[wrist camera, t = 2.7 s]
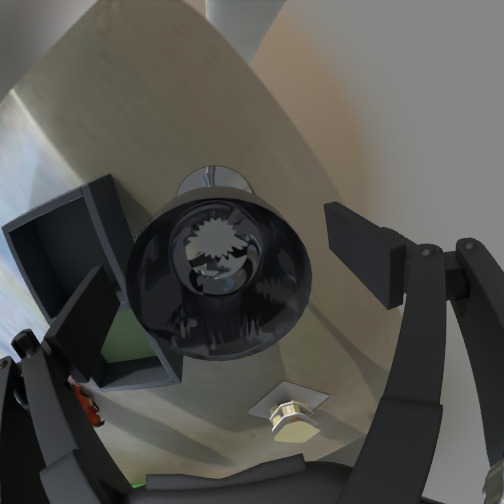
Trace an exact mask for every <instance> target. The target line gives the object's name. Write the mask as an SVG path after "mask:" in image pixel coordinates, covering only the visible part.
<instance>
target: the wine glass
mask: <svg viewBox="0 0 504 504" xmlns="http://www.w3.org/2000/svg"><path fill="white" fill-rule="evenodd" d="M125 283H126V293H127V297H128V300H129V304H130V307H131V309H132V311H133V313H134V315H135V317H136V319H137V320H138V322H139V323H140V324H141V325H142V327H143V328H144V329H145V331H146V332H147V333H149V334H150V335H151V336H152V337H153V338H154V339H155V340H156V341H158V342H159V343H161V344H162V345H164V346H165V347H167V348H168V349H170V350H173V351H175V352H177V353H179V354H182V355H185V356H188V357H191V358H195V359H201V360H208V361H225V360H234V359H239V358H243V357H247V356H251V355H253V354H256V353H258V352H261V351H263V350H265V349H267V348H268V347H270V346H272V345H274V344H275V343H276V342H278V341H279V340H280V339H282V338H283V337H284V336H285V335H286V334H287V333H288V332H289V331H290V330H291V329H292V328H293V327H294V326H295V324H296V323H297V321H298V320H299V319H300V317H301V316H302V314H303V312H304V310H305V307H306V305H307V303H308V300H309V296H310V292H311V283H312V272H311V265H310V260H309V257H308V254H307V251H306V249H305V246H304V244H303V243H302V241H301V239H300V238H299V236H298V235H297V233H296V231H295V230H294V229H293V227H292V226H291V225H290V224H289V222H288V221H287V220H286V219H285V218H284V217H283V216H282V215H281V214H280V213H279V212H278V211H277V210H276V209H275V208H274V207H273V206H271V205H270V204H269V203H267V202H266V201H265V200H263V199H262V198H260V197H259V196H257V195H254V194H252V190H251V188H250V186H249V184H248V183H247V181H246V180H245V179H244V178H243V177H242V176H241V175H240V174H239V173H237V172H236V171H234V170H232V169H230V168H227V167H223V166H207V167H203V168H200V169H198V170H196V171H194V172H193V173H191V174H190V175H189V176H188V177H187V178H186V179H185V180H184V181H183V182H182V184H181V185H180V187H179V190H178V192H177V195H176V197H175V198H173V199H172V200H171V201H169V202H168V203H167V204H165V205H164V206H163V207H162V208H161V209H160V210H159V211H158V212H157V213H156V214H155V215H154V216H153V218H152V219H151V220H150V221H149V222H148V223H147V224H146V226H145V227H144V229H143V230H142V232H141V233H140V235H139V237H138V239H137V240H136V242H135V244H134V246H133V248H132V250H131V253H130V256H129V259H128V262H127V266H126V276H125Z"/></svg>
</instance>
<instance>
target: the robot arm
mask: <svg viewBox="0 0 504 504" xmlns="http://www.w3.org/2000/svg"><path fill="white" fill-rule="evenodd" d="M324 210H325V217H326V224H327V232H328V240H329V248H330V250H331V251H332V252H333V253H334V254H335V255H336V256H337V257H338V258H339V259H340V260H341V261H342V262H343V263H344V264H345V265H346V266H347V267H348V268H349V269H350V270H351V271H352V272H353V273H354V274H355V275H356V276H357V277H358V278H359V279H360V281H361V282H362V283H363V284H364V285H365V286H366V287H367V288H368V289H369V290H370V291H371V292H372V293H373V294H374V296H375V297H376V298H377V299H378V300H379V301H380V302H381V303H382V304H383V305H384V306H385V308H386V309H387V310H390V309H392V308H395V307H397V306H399V305H402V304H403V294H404V292H405V293H406V294H407V296H406V302H405V308H404V314H403V319H402V324H401V329H400V334H399V338H398V343H397V347H396V351H395V355H394V359H393V363H392V367H391V370H390V374H389V378H388V381H387V384H386V388H385V391H384V394H383V397H381V399H380V402H379V405H378V407H377V410H376V413H375V416H374V419H373V421H372V424H371V427H370V429H369V432H368V434H367V437H366V439H365V442H364V444H363V447H362V449H361V452H360V454H359V457H358V458H357V461H356V463H355V465H354V467H350V466H347V465H343V464H339V463H334V462H326V461H308V462H305V460H304V457H303V454H302V453H301V454H297V455H294V456H290V457H286V458H282V459H278V460H274V461H269V462H264V463H261V464H258V465H256V466H254V467H251V468H249V469H246V470H244V471H241V472H239V473H236V474H234V475H231V476H228V477H226V478H222V479H213V478H205V477H198V476H191V475H185V474H146V484H144V485H141V486H139V487H136V488H133V487H132V485H131V484H130V483H129V482H128V480H127V479H126V478H125V476H124V475H123V473H122V472H121V471H120V469H119V468H118V466H117V465H116V463H115V462H114V461H113V459H112V457H111V456H110V454H109V453H108V451H107V450H106V448H105V447H104V445H103V443H102V442H101V440H100V438H99V437H98V435H97V433H96V432H95V430H94V428H93V426H92V425H91V423H90V421H89V419H88V417H87V415H86V414H85V412H84V410H83V408H82V406H81V404H80V402H79V400H78V398H77V396H76V394H75V391H74V389H73V387H72V385H71V384H70V383H69V382H68V377H69V375H71V377H72V378H73V379H74V380H75V382H76V383H89V381H90V379H91V376H92V373H93V370H94V368H95V365H96V362H97V360H98V357H99V355H100V352H101V349H102V347H103V344H104V342H105V340H106V337H107V335H108V332H109V330H110V328H111V325H112V323H113V321H114V318H115V316H116V314H117V311H118V309H119V307H120V305H121V303H120V301H119V299H118V297H117V295H116V293H115V291H114V289H113V287H112V284H111V282H110V280H109V278H108V276H107V274H106V271H105V269H104V267H103V265H100V266H97V267H94V268H92V269H91V270H90V272H89V273H88V274H87V276H86V277H85V278H84V280H83V281H82V282H81V284H80V285H79V286H78V288H77V289H76V290H75V292H74V293H73V295H72V296H71V297H70V299H69V300H68V302H67V303H66V304H65V306H64V307H63V309H62V310H61V312H60V313H59V315H58V316H57V318H56V319H55V321H54V322H53V324H52V325H51V327H50V328H49V330H48V331H47V333H46V334H45V336H44V339H43V341H42V342H41V344H40V343H39V341H38V340H37V338H36V337H35V335H34V333H33V332H32V330H31V329H25V330H23V331H21V332H20V333H19V334H17V335H16V336H15V337H14V339H13V340H12V342H11V345H12V347H13V348H14V350H15V351H16V352H17V354H18V355H19V357H20V358H21V362H18V363H15V362H14V360H13V359H12V358H11V356H6V357H4V358H2V359H0V504H444V503H441V502H438V501H435V500H432V499H428V498H426V497H423V496H422V493H423V490H424V487H425V484H426V481H427V477H428V474H429V471H430V468H431V464H432V460H433V456H434V452H435V448H436V444H437V439H438V435H439V430H440V425H441V420H442V412H443V407H442V406H443V405H440V395H441V388H442V380H443V371H444V360H445V346H446V301H448V300H450V302H451V304H452V307H453V310H454V312H455V315H456V318H457V321H458V324H459V327H460V330H461V333H462V336H463V339H464V343H465V346H466V349H467V353H468V356H469V360H470V363H471V367H472V371H473V375H474V380H475V384H476V388H477V393H478V398H479V403H480V409H481V415H482V421H483V428H484V436H485V443H486V450H487V455H488V459H489V463H490V467H491V469H490V470H489V472H488V475H487V476H486V479H485V485H484V487H483V492H482V493H483V495H484V497H485V501H484V504H504V272H503V270H502V269H501V267H500V266H499V265H498V263H497V262H496V261H495V259H494V258H493V257H492V255H491V254H490V253H489V251H488V250H487V249H486V248H485V246H484V245H483V244H482V243H481V242H479V241H478V240H476V239H474V238H463V239H460V240H458V241H457V243H456V251H451V252H443V250H442V249H441V248H440V247H439V246H436V245H434V244H420V245H417V244H415V243H414V242H412V241H410V240H409V239H407V238H405V237H404V236H402V235H401V234H399V233H398V232H396V231H394V230H392V229H389V228H386V227H381V228H380V227H378V226H377V225H375V224H373V223H371V222H370V221H368V220H367V219H365V218H363V217H362V216H360V215H358V214H357V213H355V212H353V211H352V210H350V209H348V208H347V207H345V206H343V205H341V204H340V203H338V202H331V203H327V204H324ZM16 399H17V400H18V401H19V402H20V403H19V402H18V401H17V400H16Z"/></svg>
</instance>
